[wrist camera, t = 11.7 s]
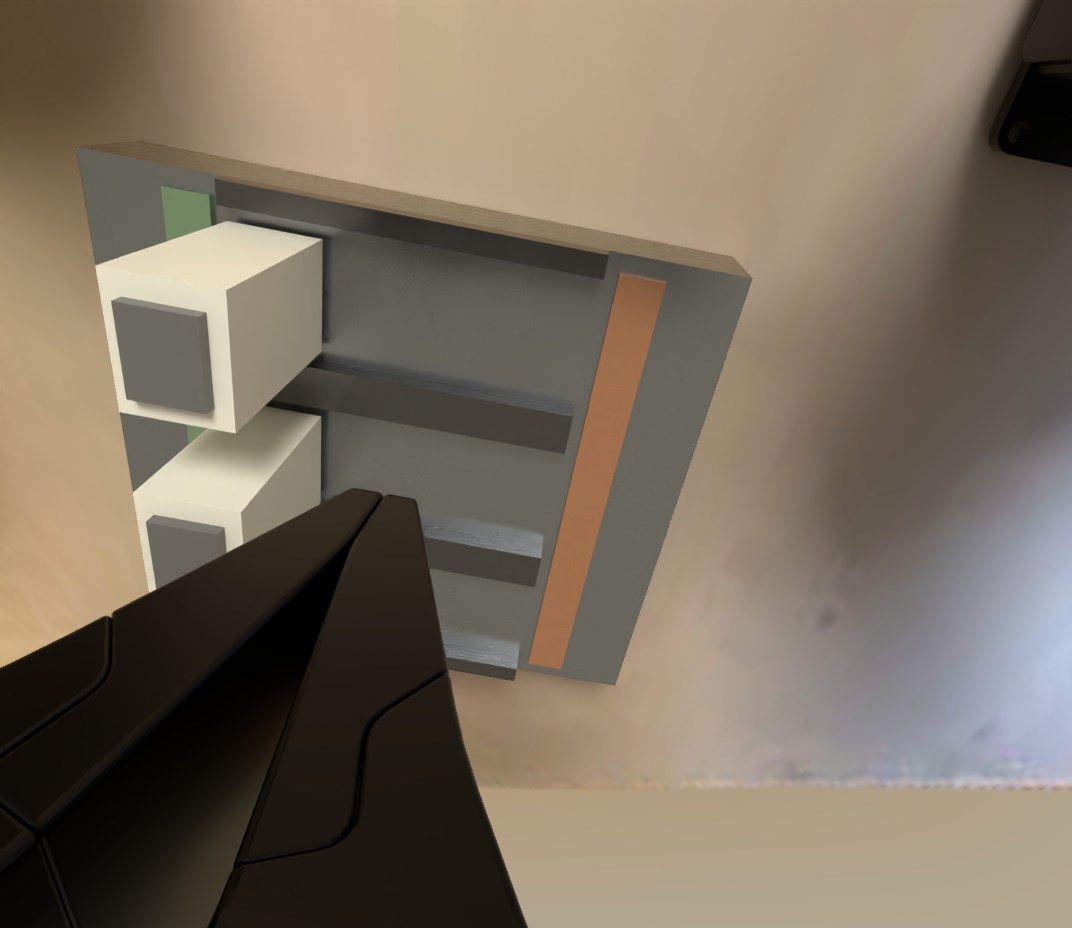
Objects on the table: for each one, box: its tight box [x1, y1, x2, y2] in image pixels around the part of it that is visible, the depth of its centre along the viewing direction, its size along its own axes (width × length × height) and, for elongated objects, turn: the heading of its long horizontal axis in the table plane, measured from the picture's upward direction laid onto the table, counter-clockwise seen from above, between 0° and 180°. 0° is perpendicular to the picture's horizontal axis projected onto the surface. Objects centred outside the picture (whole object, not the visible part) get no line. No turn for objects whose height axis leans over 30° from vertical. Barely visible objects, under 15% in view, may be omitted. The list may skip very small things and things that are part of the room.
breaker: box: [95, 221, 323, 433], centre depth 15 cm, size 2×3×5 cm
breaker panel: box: [76, 141, 752, 686], centre depth 21 cm, size 17×15×3 cm
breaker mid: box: [133, 406, 321, 593], centre depth 17 cm, size 2×3×5 cm
